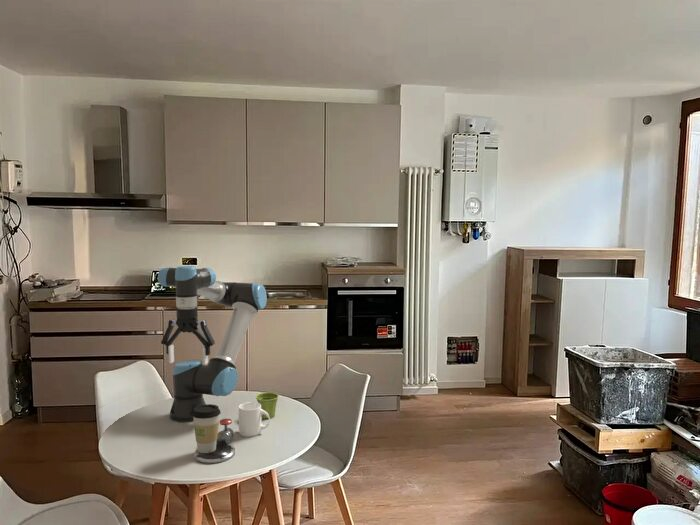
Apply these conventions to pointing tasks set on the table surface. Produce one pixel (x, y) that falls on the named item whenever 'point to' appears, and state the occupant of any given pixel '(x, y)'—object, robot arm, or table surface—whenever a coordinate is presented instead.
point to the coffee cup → (206, 427)
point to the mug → (251, 419)
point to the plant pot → (268, 403)
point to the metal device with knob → (219, 447)
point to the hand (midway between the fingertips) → (188, 363)
